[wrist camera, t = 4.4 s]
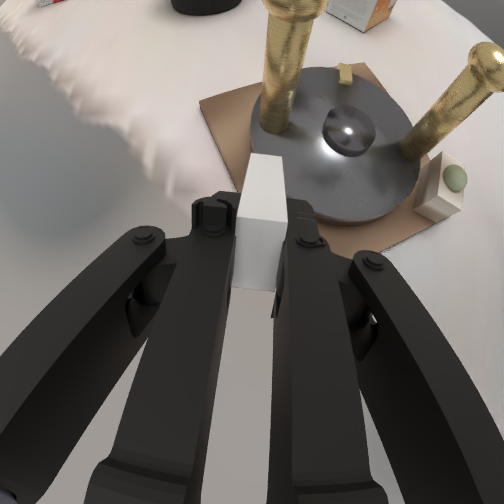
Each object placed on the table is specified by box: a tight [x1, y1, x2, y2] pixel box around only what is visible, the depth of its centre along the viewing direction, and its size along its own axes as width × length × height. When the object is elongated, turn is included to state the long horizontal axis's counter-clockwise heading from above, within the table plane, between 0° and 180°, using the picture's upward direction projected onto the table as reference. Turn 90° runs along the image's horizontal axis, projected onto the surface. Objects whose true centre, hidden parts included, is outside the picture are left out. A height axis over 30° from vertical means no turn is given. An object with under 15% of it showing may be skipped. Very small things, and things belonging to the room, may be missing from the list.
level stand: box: [199, 63, 467, 259], centre depth 20 cm, size 17×17×6 cm
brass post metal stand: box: [250, 0, 504, 226], centre depth 14 cm, size 13×13×14 cm
